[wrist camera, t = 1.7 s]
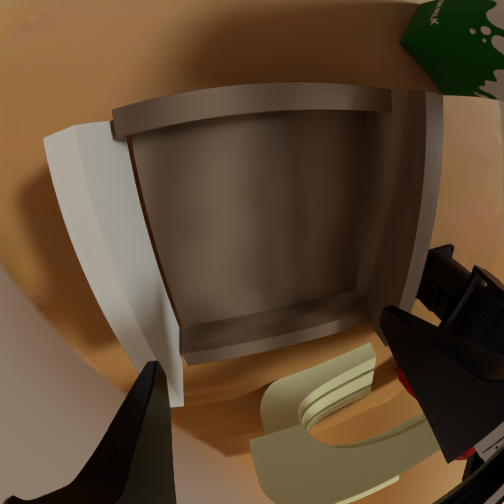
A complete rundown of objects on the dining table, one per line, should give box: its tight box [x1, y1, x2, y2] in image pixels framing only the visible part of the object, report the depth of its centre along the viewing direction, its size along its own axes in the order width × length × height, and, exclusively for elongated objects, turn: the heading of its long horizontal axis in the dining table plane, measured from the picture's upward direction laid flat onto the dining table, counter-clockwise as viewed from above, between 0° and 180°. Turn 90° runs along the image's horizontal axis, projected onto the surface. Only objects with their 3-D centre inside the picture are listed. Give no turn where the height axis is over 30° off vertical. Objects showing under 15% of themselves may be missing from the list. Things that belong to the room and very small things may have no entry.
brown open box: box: [112, 82, 443, 365], centre depth 17 cm, size 17×18×8 cm
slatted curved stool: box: [249, 342, 441, 504], centre depth 27 cm, size 30×16×18 cm, turn 16°
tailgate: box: [43, 121, 184, 407], centre depth 14 cm, size 2×17×7 cm, turn 6°
